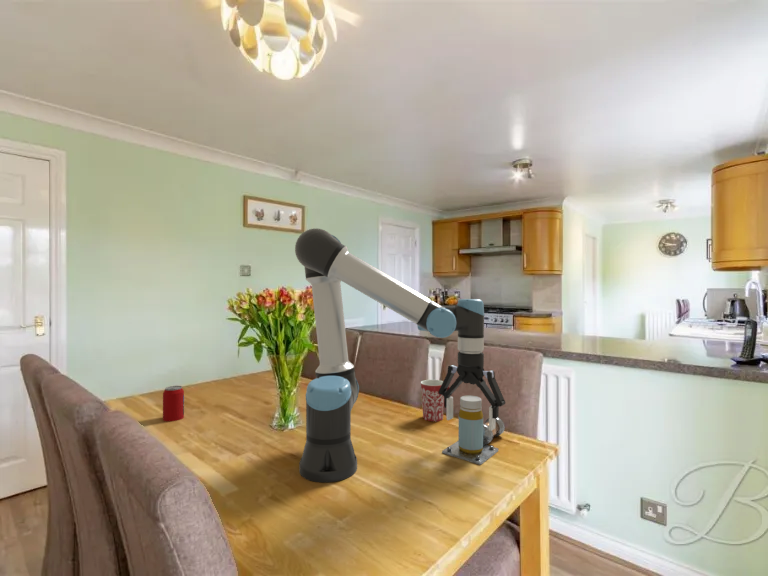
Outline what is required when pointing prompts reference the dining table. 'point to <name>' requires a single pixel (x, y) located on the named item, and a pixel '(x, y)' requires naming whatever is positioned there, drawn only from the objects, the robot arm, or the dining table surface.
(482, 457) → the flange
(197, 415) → the dining table surface
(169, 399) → the beverage can
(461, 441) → the bottle
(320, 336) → the robot arm
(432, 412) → the mug
